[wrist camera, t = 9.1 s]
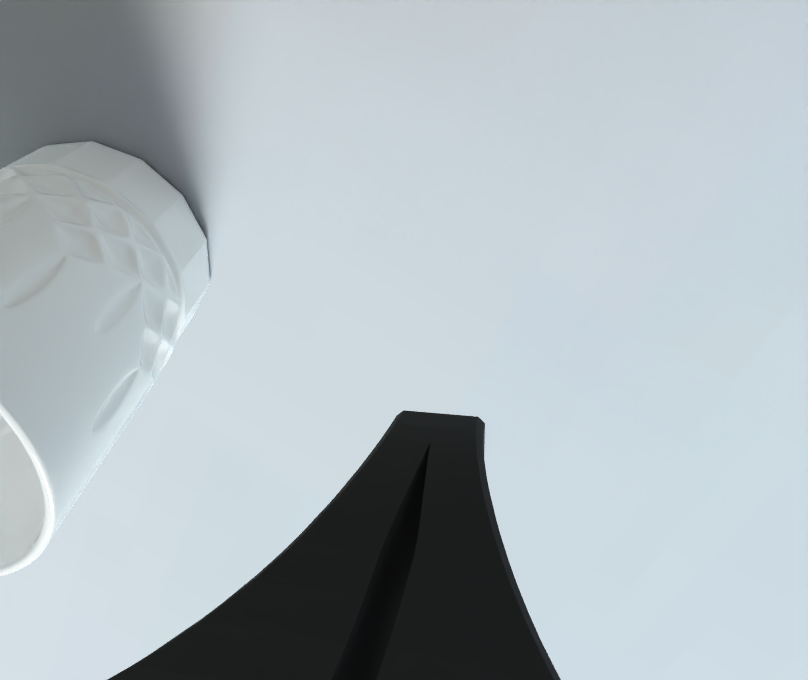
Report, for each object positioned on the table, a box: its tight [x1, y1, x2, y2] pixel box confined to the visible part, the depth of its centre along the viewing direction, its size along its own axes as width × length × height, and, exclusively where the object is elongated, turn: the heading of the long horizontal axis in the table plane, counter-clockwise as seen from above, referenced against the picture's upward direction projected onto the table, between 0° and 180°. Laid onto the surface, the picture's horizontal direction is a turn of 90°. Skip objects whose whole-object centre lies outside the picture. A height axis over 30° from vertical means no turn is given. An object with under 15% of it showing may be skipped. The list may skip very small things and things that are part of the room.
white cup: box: [0, 141, 210, 576], centre depth 20 cm, size 8×8×10 cm
